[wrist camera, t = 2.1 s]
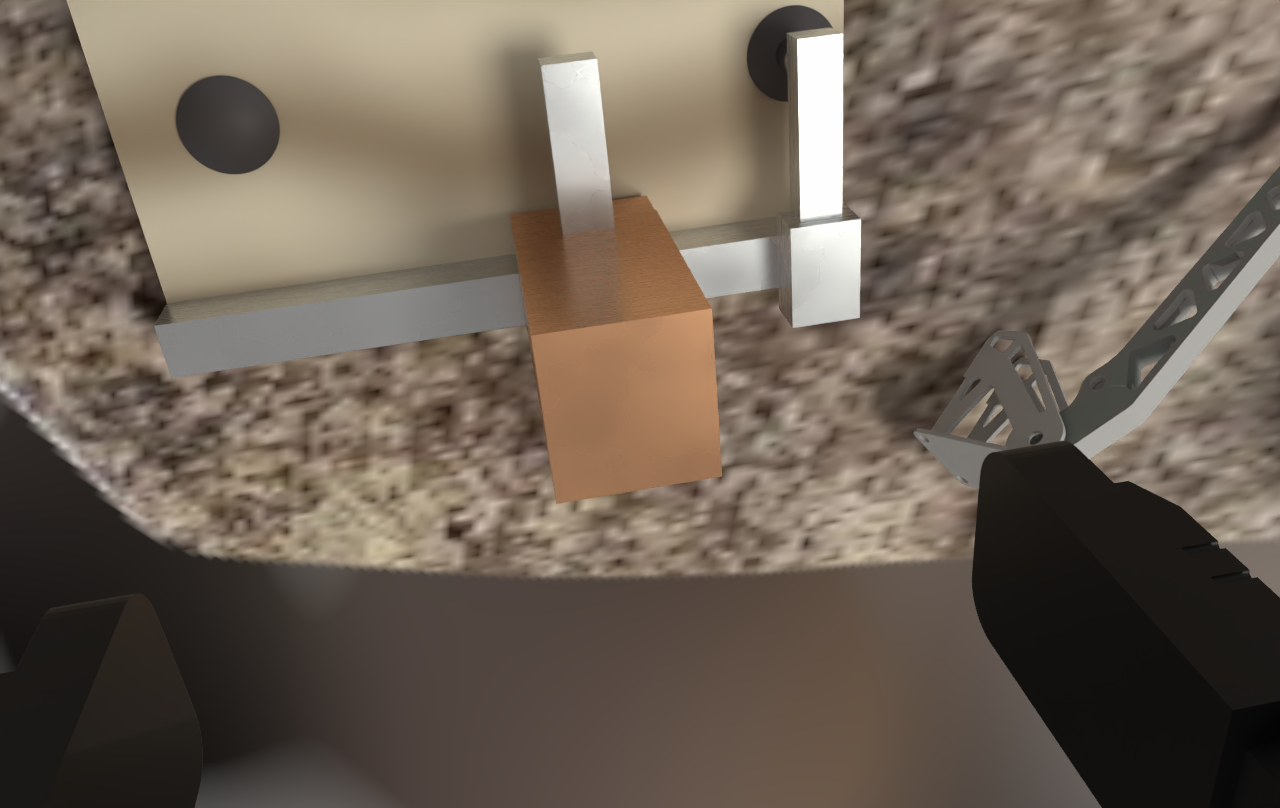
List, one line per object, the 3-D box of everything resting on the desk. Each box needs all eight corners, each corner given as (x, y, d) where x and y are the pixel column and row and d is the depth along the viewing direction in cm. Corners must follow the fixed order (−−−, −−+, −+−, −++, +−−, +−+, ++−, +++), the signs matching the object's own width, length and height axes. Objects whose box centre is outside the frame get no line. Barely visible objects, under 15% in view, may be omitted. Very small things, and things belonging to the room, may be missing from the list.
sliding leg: (484, 52, 28) (500, 133, 21) (632, 34, 29) (699, 107, 21) (530, 349, 33) (556, 503, 25) (658, 329, 33) (721, 476, 26)
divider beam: (101, 106, 28) (66, 134, 25) (843, 14, 30) (882, 32, 27) (190, 374, 32) (168, 423, 29) (842, 277, 34) (876, 315, 31)
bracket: (906, 429, 36) (1177, 488, 27) (1208, -26, 40) (1529, -101, 31) (957, 483, 37) (1230, 555, 28) (1244, 38, 41) (1559, -17, 33)
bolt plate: (60, -70, 27) (43, -65, 26) (829, -152, 29) (845, -151, 28) (198, 356, 33) (189, 375, 32) (830, 263, 35) (843, 278, 33)
